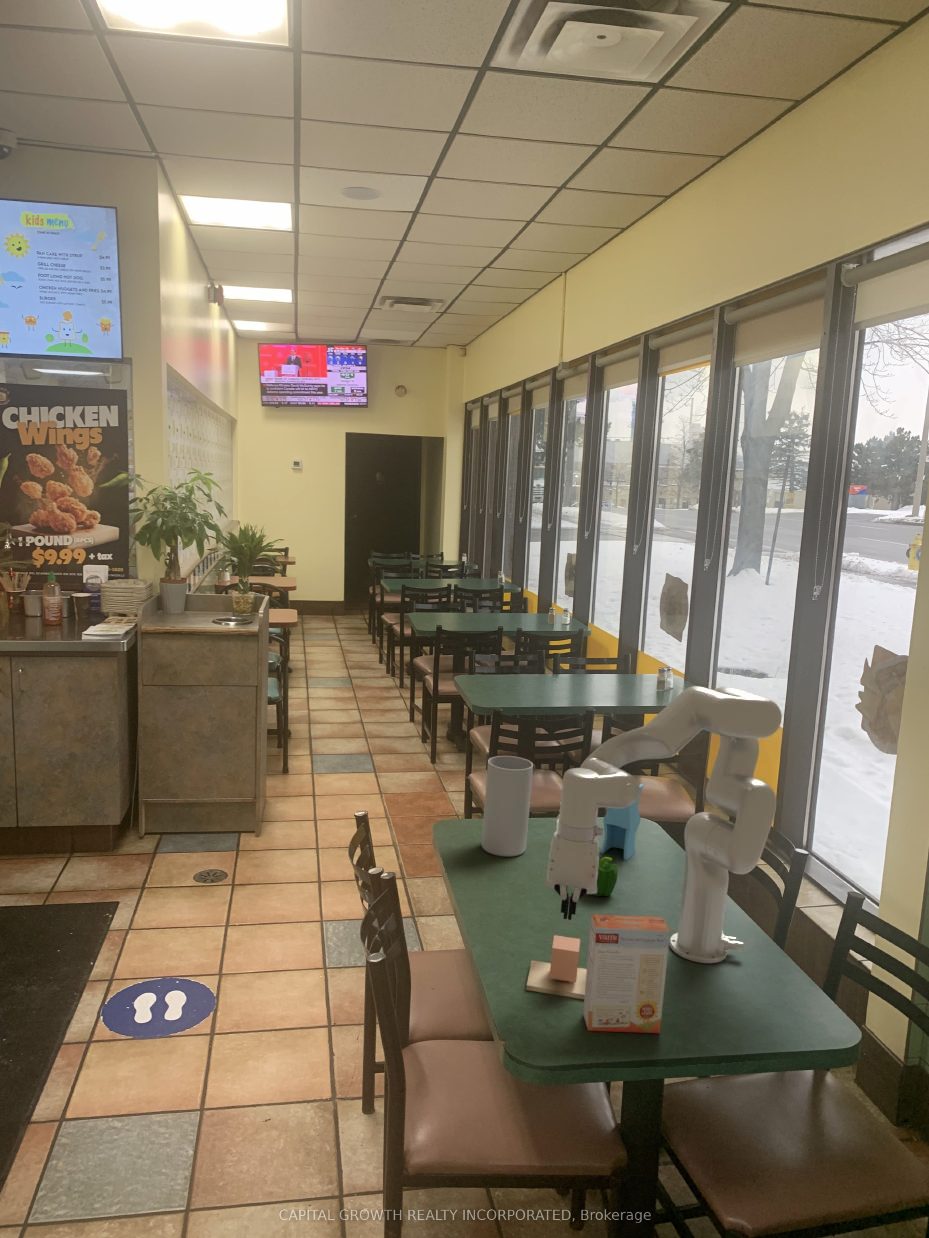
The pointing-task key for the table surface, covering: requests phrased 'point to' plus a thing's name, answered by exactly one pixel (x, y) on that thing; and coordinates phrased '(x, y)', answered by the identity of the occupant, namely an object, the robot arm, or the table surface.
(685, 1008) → the table surface
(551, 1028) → the table surface
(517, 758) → the cylinder vase
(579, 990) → the post
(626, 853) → the light blue tall piece
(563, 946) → the pale pink upright block
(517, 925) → the table surface
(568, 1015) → the table surface
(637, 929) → the cracker box
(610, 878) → the bell pepper
